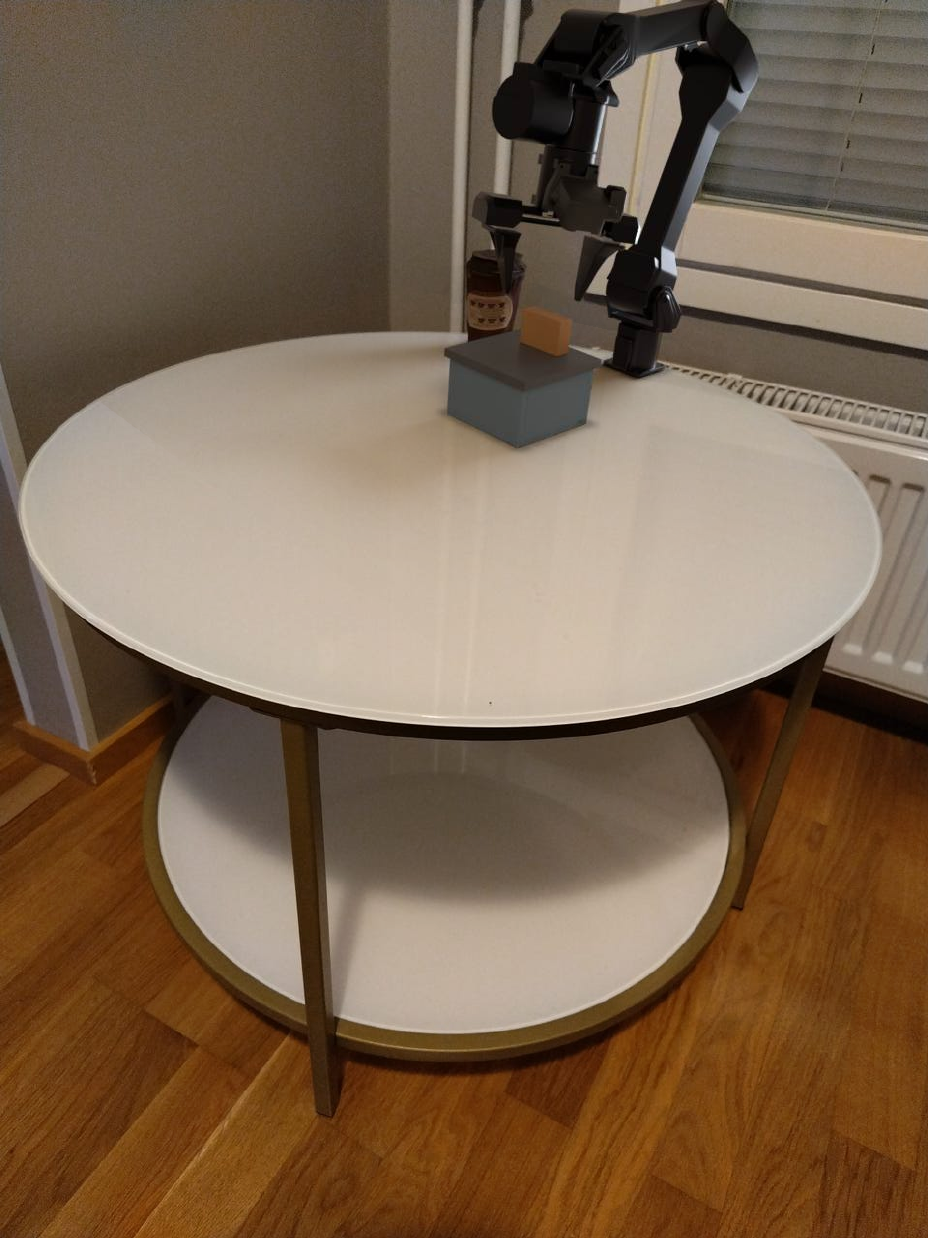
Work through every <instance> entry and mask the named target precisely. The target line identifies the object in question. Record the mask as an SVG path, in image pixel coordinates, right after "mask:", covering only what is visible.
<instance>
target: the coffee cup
mask: <svg viewBox="0 0 928 1238" xmlns="http://www.w3.org/2000/svg"><path fill="white" fill-rule="evenodd" d="M523 257H524V254H523V253H520V252H517V251H516V252H515V261H514V270H513V278H512V284H511V288H510V293H509V294H505V293H504V292H503V288H502V283H501V277H500V272H499V267H498V261H497V256H496V252H495V249H491V248H488V249H480V250H477V249H476V250H473V251H471V257H469V259H468V260H467V261H466V263H465V277H466V278H465V300H466V301H465V303H466V331H467V341H466V342H470V341H474V340H478V339H482V338H486V337H490V336H494V335H498V334H502V333H506V332H511V331H514V327H515V323H516V320H517V316H518V312H519V309H520V308H519V307H520V297H521V292H522V286H523V285H522V284H523V281H524V280H525V276H526V274H527V268H528V267H527V264H526V263H525V262H523V260H522V259H523Z"/></svg>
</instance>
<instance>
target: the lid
mask: <svg viewBox="0 0 928 1238" xmlns="http://www.w3.org/2000/svg"><path fill="white" fill-rule="evenodd" d="M521 317H522V318H521V327H520V328H519V329H514V330H513V331H511V332H506V333H502V334H498V335H494V336H490V337H486V338H482V339H478V340H474V341H470V342H467V341H466V342H462V343H459V344H456V345H451V346H447V347H443V357H445V358H447V359H449V360H450V359H452V360H454V361H456V362H458V363H461V364H463V365H465V366H468V367H470V368H472V369H474V370H477V371H479V372H481V373H484V374H486V375H488V376H490V377H493V378H495V379H497V380H500V381H502V382H504V383H506V384H509V385H511V386H513V387H516V388H518V389H520V390H522V391H526V390H529V389H533V388H536V387H539V386H542V385H546V384H549V383H552V382H555V381H558V380H562V379H565V378H568V377H571V376H575V375H578V374H581V373H584V372H588V371H591V370H594V371H595V370H597V369H600V368H602V362H603V359H602V358H599V357H596V356H594V355H592V354H589V353H587V352H584V351H581V350H579V349H576V348H573V347H570V340H571V333H572V332H571V331H572V326H573V325H572V324H573V318H570V317H567V316H564V315H562V314H560V313H559V314H558V313H556V312H553V311H550V310H548V309H545V308H542V307H539V306H536V305H532V306H528V307H523V309H522V315H521Z"/></svg>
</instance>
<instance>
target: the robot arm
mask: <svg viewBox="0 0 928 1238" xmlns="http://www.w3.org/2000/svg"><path fill="white" fill-rule="evenodd" d="M728 15H729V14H728V13H727V10H726V8H725V5H724V4H723V2H720V1H719V0H679V1H675V2H671V3H667V4H666V3H665V4H661V5H656V6H652V7H647V8H643V9H638V10H632V11H627V12H618V11H606V10H596V9H595V10H594V9H582V8H570V9H568V10H565V11H564V13H562V14H561V16H560V22H559V23H558V25H557V26H556V28H555V30H554V31H553V33H552V34H551V35H550V37H549V38H548V40H547V42H546V43H545V44H544V46H543V48H542V49H541V51H540V52H539V53H538V55H537V57H536V58H535V60H534V61H533V63H532V62H525V61H519V60H515V61H514V62H513V68H512V74H510V75H509V76H507V77H506V78H505V79H504V80H503V81H502V83H501V84H500V85H499V87H498V89H497V91H496V94H495V96H493V98H492V103H491V104H492V106H491V117H492V123H493V126H494V129H495V131H496V132H497V134H498V135H499V136H500V137H502V138H503V139H504V140H507V141H508V140H510V141H516V142H522V143H530V144H536V145H543V146H544V149H543V153H539V154H538V160H537V164H538V165H540V171H539V177H538V182H537V188H536V191H535V192H536V193H531V194H532V195H531V198H530V204H523V200H522V199H519V198H517V197H514V196H512V195H510V194H509V195H508V194H503V193H496V192H490V191H483V190H480V191H479V193H478V194H477V195H475V198H474V199H473V203H472V211H471V215H470V216H471V218H473V219H475V220H477V221H478V222H480V223H481V228H483V229H485V230H486V231H488V232H489V235H490V238H491V241H492V246H493V248H494V250H495V252H496V256H497V261H498V267H499V272H500V277H501V283H502V288H503V292H504V293H505V294H509V293H510V288H511V284H512V278H513V270H514V261H515V252H517V245H518V244H519V241H520V239H521V237H522V232H520V231H518V230H517V226H518V225H520V224H521V223H525V224H532V225H540V226H548V227H555V228H562V229H563V230H565V231H567V232H571V233H575V232H577V231H578V232H585V233H590V235H587V234H584V235H583V240H582V245H581V250H580V251H581V252H580V257H579V262H578V267H577V273H576V279H575V285H574V296H573V297H574V301H575V302H577V303H578V302H579V303H581V302H582V299H584V296H585V294H586V293H587V292H588V290H589V287H590V286H591V284H592V283H593V281H594V279H595V277H596V276H597V274H598V273H599V271H600V270H601V268H602V267H603V266H604V264H605V263H606V261H607V260H608V259H609V258H610V257H611V256H613V255H614V254H615V255H614V260H613V264H612V267H611V269H610V271H609V273H608V274H607V276H606V280H607V281H606V286H605V297H606V308H607V310H606V311H607V317H608V318H609V319H614V320H617V321H620V322H619V323H618V327H617V332H616V335H615V339H614V344H613V351H612V356H611V357H610V358H606V359H604V360H602V362H603V363H602V364H603V365H604V366H607V367H608V368H609V367H610V368H612V369H615V370H616V371H619V372H622V373H625V374H627V375H631V376H633V377H636V378H641V377H644V376H647V375H651V374H653V373H657V372H659V371H662V370H665V369H666V364H664V363H662V362H659V361H658V358H659V353H660V347H661V342H662V338H663V334H671V333H673V330H675V329H676V330H677V328H678V325H679V323H680V319H681V317H682V315H683V312H682V309H681V308H680V305H679V302H678V301H677V298H676V296H675V294H674V289H675V286H676V283H677V280H678V272H677V265H676V258H675V251H676V247H677V245H678V243H679V240H680V237H681V235H682V232H683V229H684V227H685V224H686V222H687V219H688V216H689V214H690V211H691V208H692V206H693V203H694V200H695V198H696V196H697V192H698V190H699V187H700V185H701V182H702V179H703V177H704V174H705V171H706V168H707V166H708V163H709V161H710V158H711V156H712V153H713V150H714V147H715V145H716V143H717V140H718V137H719V136H720V133H721V132H722V131H723V130H724V129H725V128H726V127H727V126H728V125H730V123H731V122H732V121H734V119H735V118H737V116H739V114H741V113H742V111H743V108H744V106H745V104H746V103H747V100H748V98H749V96H750V93H751V92H752V90H753V88H754V87H755V85H756V83H757V80H758V76H759V70H760V69H759V68H760V67H759V62H758V59H757V57H756V54H755V51H754V49H753V46H752V43H751V40H750V38H749V37H748V36H747V35H746V34H745V33H744V32H743V31H742V30H741V29H740V28H739V27H738V26H737V25H736V24H735V23H734V22H733V21H732V20H731V18H729V16H728ZM700 42H702V43H700ZM699 43H700V44H699ZM674 48H676V50H675V56H674V62H675V64H676V66H677V68H678V70H679V73H680V74H681V81H680V85H679V88H678V100H679V107H680V116H681V119H680V123H679V126H678V129H677V131H676V134H675V138H674V140H673V142H672V145H671V148H670V151H669V153H668V156H667V159H666V162H665V164H664V167H663V170H662V173H661V176H660V179H659V181H658V184H657V187H656V190H655V192H654V195H653V198H652V200H651V203H650V206H649V209H648V211H647V214H646V216H645V219H644V222H643V224H642V227H641V223H640V220H639V218H638V216H634V215H631V214H629V213H626V212H625V207H626V203H627V198H628V197H627V196H628V192H627V190H626V189H625V187H624V186H621V185H613V184H608V185H607V186H606V187H602V186H599V184H598V178H599V173H600V171H599V168H600V165H598V164H596V158H597V153H598V147H599V143H600V138H601V134H602V129H603V124H604V119H605V115H606V109H607V107H610V108H618V107H619V106H620V99H619V96H618V95H617V93H616V92H615V91H614V89H613V85H612V81H611V80H612V79H614V78H616V77H618V76H620V75H621V74H623V73H625V72H627V71H629V70H630V69H631V68H632V67H633V66H634V65H635V63H636V60H637V59H639V58H641V57H643V56H647V55H652V54H655V53H658V52H663V51H666V50H667V51H668V50H670V49H674ZM543 214H544V215H543ZM623 244H628V245H630V247H628V248H627V246H625V245H623ZM626 248H627V249H626Z"/></svg>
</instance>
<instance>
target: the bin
mask: <svg viewBox="0 0 928 1238" xmlns="http://www.w3.org/2000/svg"><path fill="white" fill-rule="evenodd" d="M448 368H449V369H448V370H449V371H448V385H447V387H448V388H447V404H446V405H447V407H446V414H447V415H450V416H451V417H454V418H455V419H458V420H460V421H462V422H463V423H466V424H467V425H469V426H472V427H474V428H476V429H478V430H480V431H482V432H484V433H486V434H489V435H490V436H492V437H494V438H497V440H500V441H502V442H505V443H506V444H508V445H511V446H512V447H515V448H516V449H519V448H522V447H525V446H527V445H531V444H533V443H536V442H538V441H541V440H545V439H547V438H550V437H552V436H555V435H558V434H560V433H564V432H566V431H569V430H571V429H574V428H577V427H580V426H583V425H586V424H587V419H588V412H589V406H590V399H591V393H592V387H593V380H594V374H595V369H594V370H591V371H588V372H584V373H581V374H578V375H575V376H571V377H568V378H565V379H562V380H558V381H555V382H552V383H549V384H546V385H542V386H539V387H536V388H533V389H529V390H526V391H522V390H520V389H518V388H516V387H513V386H511V385H509V384H506V383H504V382H502V381H500V380H497V379H495V378H493V377H490V376H488V375H486V374H484V373H481V372H479V371H477V370H474V369H472V368H470V367H468V366H465V365H463V364H461V363H458V362H456V361H454V360H452V359H449V367H448Z"/></svg>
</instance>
